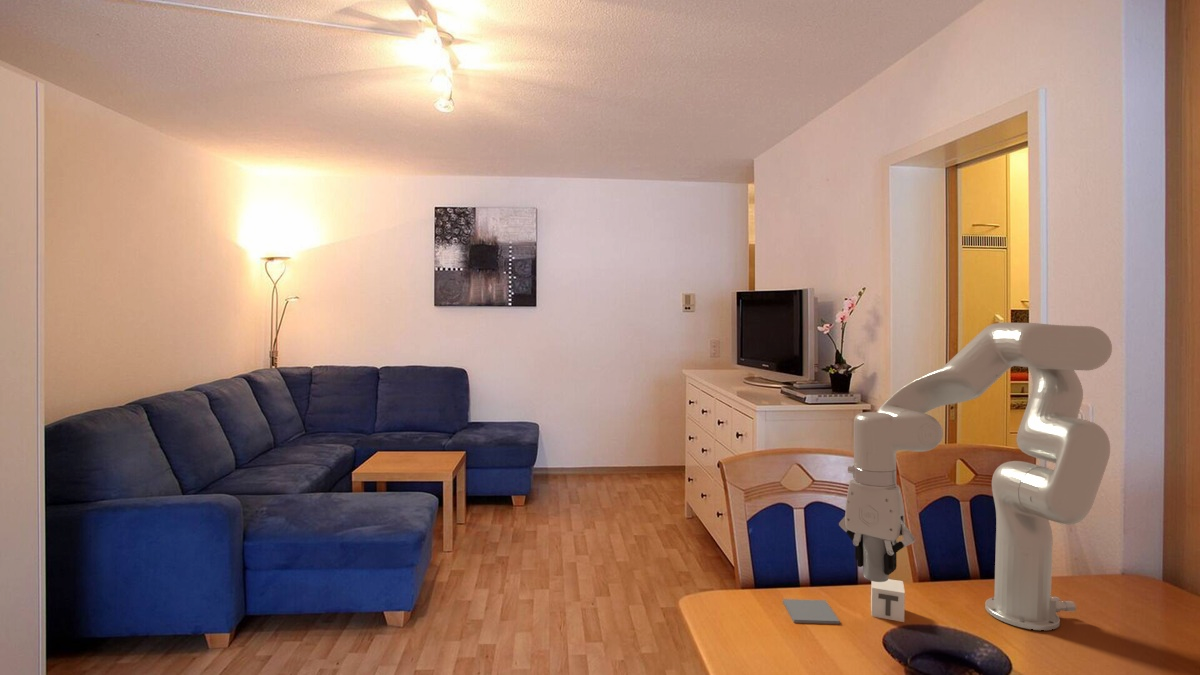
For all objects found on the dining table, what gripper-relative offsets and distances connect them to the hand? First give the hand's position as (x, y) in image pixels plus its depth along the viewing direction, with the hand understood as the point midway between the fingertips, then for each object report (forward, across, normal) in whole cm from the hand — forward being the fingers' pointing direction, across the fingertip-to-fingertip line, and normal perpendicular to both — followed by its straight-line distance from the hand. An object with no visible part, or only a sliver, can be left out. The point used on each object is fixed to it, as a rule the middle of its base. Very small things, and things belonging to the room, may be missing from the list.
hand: (875, 567), depth 120 cm
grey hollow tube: (+2, 0, 0) cm, 2 cm away
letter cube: (+12, -1, +8) cm, 15 cm away
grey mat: (+12, -12, -4) cm, 17 cm away
